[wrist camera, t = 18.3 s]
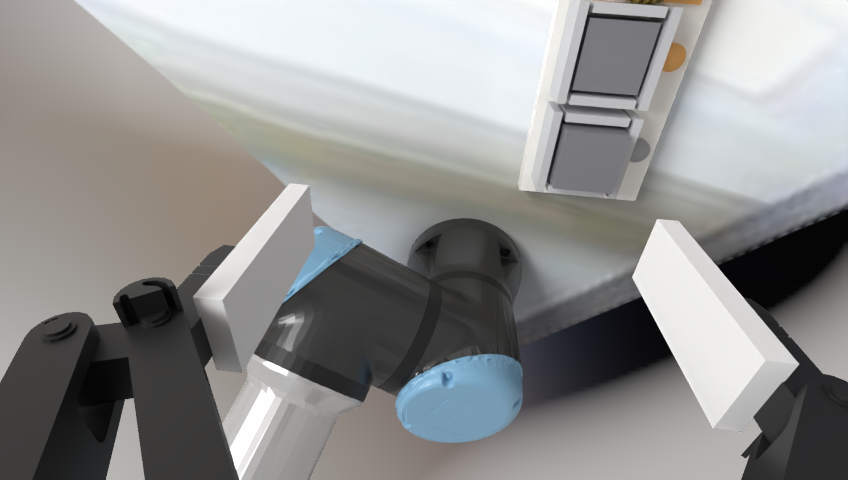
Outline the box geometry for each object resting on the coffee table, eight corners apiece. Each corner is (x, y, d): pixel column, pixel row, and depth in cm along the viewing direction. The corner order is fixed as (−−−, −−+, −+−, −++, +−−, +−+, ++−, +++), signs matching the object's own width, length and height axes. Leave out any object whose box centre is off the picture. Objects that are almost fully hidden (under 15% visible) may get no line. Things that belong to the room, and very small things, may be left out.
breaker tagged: (624, 86, 40) (637, 95, 37) (564, 81, 40) (572, 90, 37) (646, 19, 37) (661, 23, 34) (580, 14, 37) (590, 17, 34)
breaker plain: (602, 179, 43) (611, 194, 40) (547, 174, 44) (552, 188, 41) (620, 124, 40) (631, 136, 37) (560, 119, 40) (567, 131, 37)
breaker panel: (629, 193, 48) (647, 218, 43) (517, 182, 49) (523, 206, 44) (746, -122, 33) (796, -139, 28) (582, -132, 33) (602, -150, 28)
